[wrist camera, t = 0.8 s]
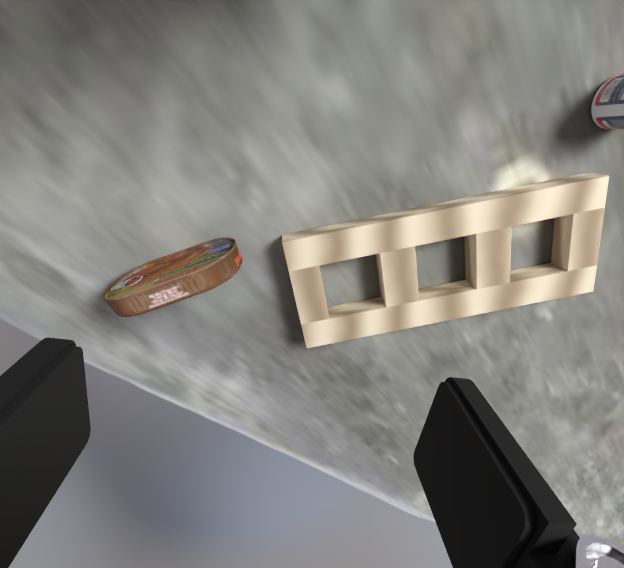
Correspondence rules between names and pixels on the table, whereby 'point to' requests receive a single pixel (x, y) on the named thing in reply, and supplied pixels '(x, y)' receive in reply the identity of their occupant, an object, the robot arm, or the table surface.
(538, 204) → the wooden rack
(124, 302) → the tin
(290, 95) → the table surface
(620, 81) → the pill bottle
